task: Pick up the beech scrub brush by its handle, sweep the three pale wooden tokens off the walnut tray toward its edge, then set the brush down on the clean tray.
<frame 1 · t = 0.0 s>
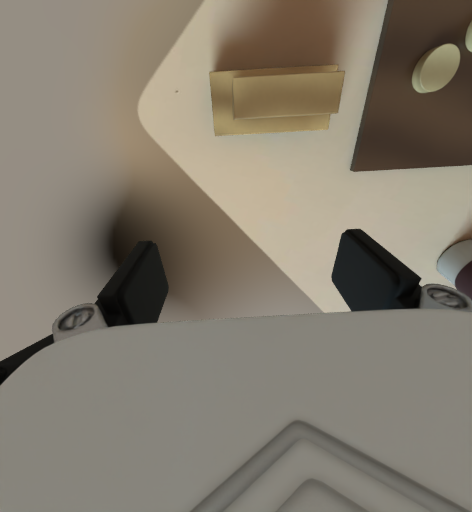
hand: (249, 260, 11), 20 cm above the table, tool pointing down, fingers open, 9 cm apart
brush: (267, 104, 24), on the table
token a: (430, 71, 22), point 1 cm above the table, touching tray
tray: (467, 64, 22), on the table
coffee cup: (457, 256, 36), on the table
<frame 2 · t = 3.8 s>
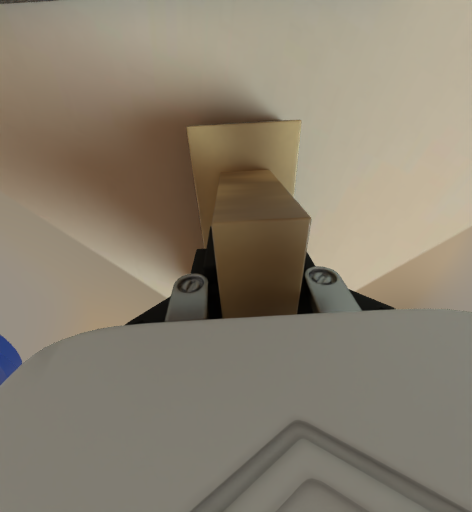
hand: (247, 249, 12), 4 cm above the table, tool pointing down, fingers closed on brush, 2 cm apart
brush: (243, 220, 15), on the table, touching gripper
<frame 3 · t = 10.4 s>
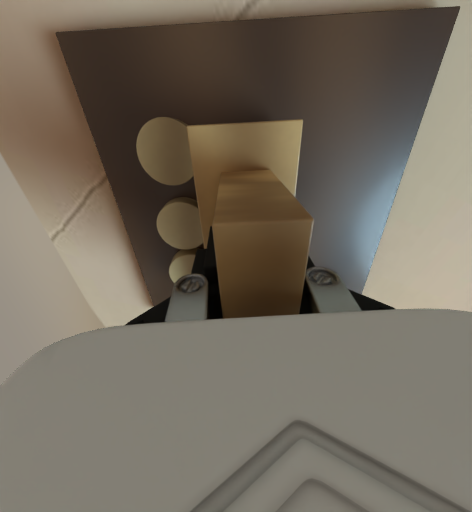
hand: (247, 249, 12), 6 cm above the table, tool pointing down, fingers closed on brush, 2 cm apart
token b: (185, 220, 16), point 1 cm above the table
brush: (244, 220, 15), point 2 cm above the table, touching gripper
token a: (193, 265, 18), point 1 cm above the table, touching tray
tray: (256, 208, 16), on the table
token c: (172, 151, 13), point 1 cm above the table
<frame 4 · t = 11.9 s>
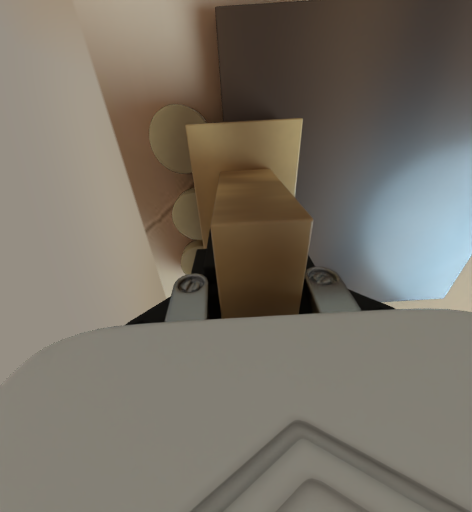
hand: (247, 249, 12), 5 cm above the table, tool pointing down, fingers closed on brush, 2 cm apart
token b: (199, 211, 16), on the table
brush: (243, 220, 15), point 1 cm above the table, touching gripper
token a: (204, 257, 18), on the table
tray: (362, 199, 16), on the table
token c: (183, 140, 13), on the table
when the fingers open (5 cm above the table, at t = 17.4 s): brush stays where it is, resting on tray.
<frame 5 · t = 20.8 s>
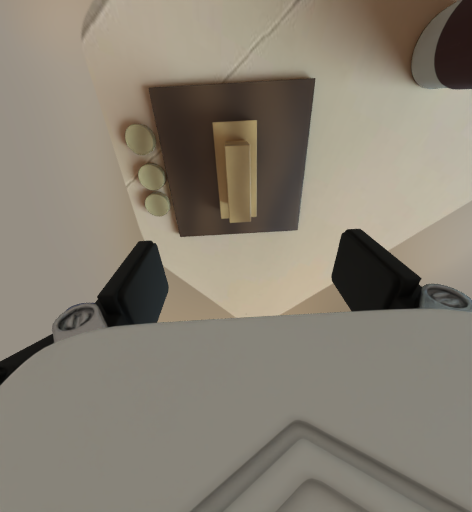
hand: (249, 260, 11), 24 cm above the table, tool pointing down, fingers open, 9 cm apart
token b: (153, 176, 32), on the table
brush: (236, 170, 31), point 1 cm above the table, touching tray
token a: (158, 203, 34), on the table
tray: (235, 170, 31), on the table
token c: (142, 139, 29), on the table
coffee cup: (440, 51, 25), on the table
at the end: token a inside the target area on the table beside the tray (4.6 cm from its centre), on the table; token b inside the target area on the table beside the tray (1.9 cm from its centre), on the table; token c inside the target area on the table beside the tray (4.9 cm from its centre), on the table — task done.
